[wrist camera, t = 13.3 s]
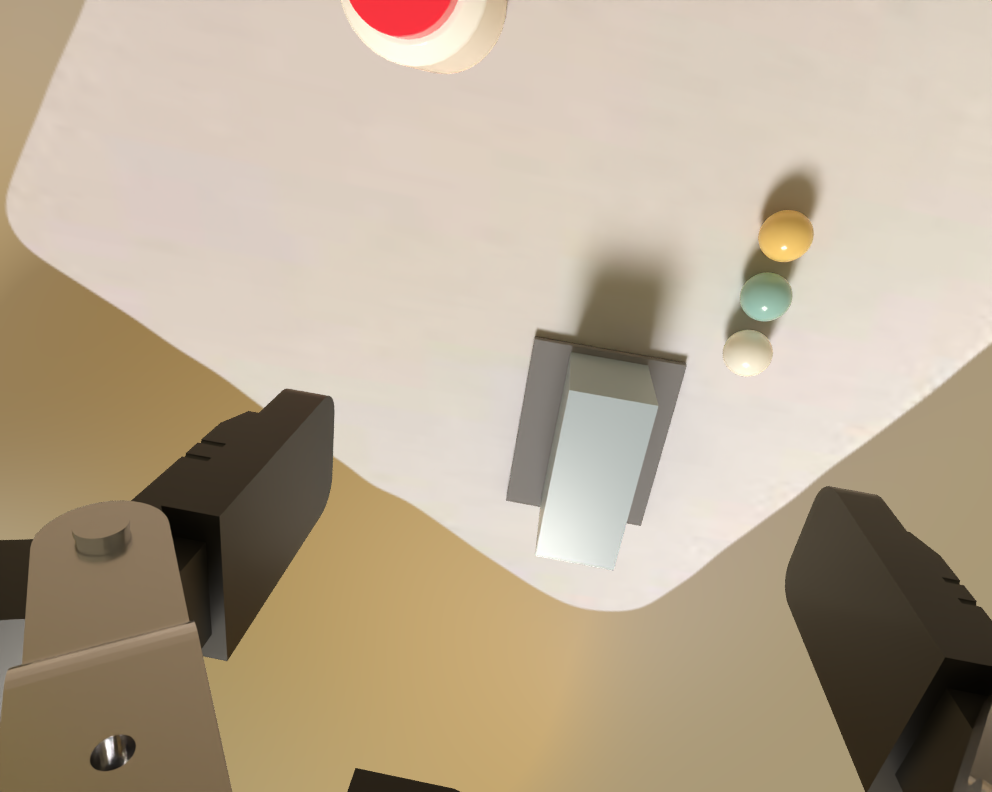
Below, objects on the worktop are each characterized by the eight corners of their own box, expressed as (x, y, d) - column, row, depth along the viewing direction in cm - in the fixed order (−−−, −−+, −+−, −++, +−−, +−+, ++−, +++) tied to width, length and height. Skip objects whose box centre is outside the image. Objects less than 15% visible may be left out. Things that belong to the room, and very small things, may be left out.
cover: (570, 352, 47) (569, 390, 41) (647, 365, 47) (658, 405, 40) (540, 501, 52) (535, 555, 46) (609, 514, 52) (613, 570, 46)
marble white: (726, 320, 45) (735, 334, 42) (772, 328, 45) (785, 343, 42) (713, 362, 47) (721, 379, 44) (757, 370, 47) (769, 387, 44)
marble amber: (761, 202, 42) (775, 210, 39) (811, 211, 42) (828, 218, 39) (746, 251, 43) (758, 262, 40) (795, 259, 43) (810, 270, 40)
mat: (535, 336, 47) (534, 339, 47) (685, 362, 47) (686, 365, 46) (506, 496, 53) (506, 500, 53) (640, 521, 53) (640, 525, 52)
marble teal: (743, 263, 44) (754, 274, 41) (790, 271, 44) (806, 283, 41) (729, 309, 45) (739, 323, 42) (775, 317, 45) (789, 331, 42)
